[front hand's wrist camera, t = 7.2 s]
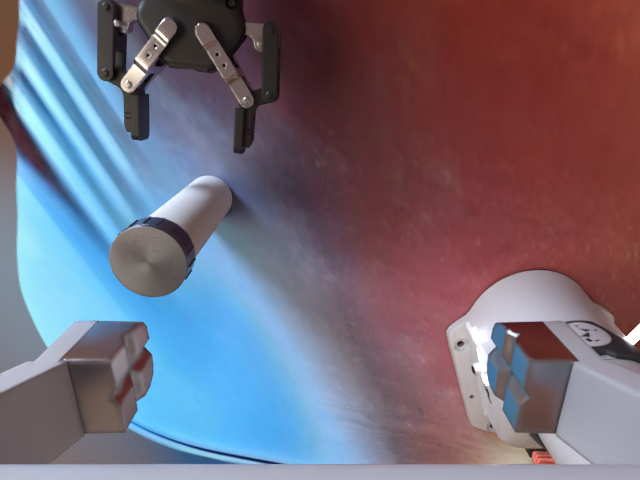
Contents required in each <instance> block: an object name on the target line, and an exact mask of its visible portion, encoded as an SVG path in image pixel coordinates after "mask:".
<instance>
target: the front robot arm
mask: <svg viewBox="0 0 640 480" xmlns="http://www.w3.org/2000/svg"><path fill="white" fill-rule="evenodd" d="M446 336H447V340H448V344H449V348H450V352H451V356H452V359H453V363H454V367H455V371H456V375H457V379H458V383H459V386H460V390H461V394H462V398H463V402H464V406H465V409H466V413H467V417H468V419H469V421H470V423H471V425H472V426H474V427H476V428H478V429H481V430H484V431H488V432H494V433H496V434H497V436H498V437H499V438H500V440H502V441H503V442H504V443H506V444H508V445H511V446H514V447H519V448H525V449H526V451H527V453H528V455H529V456H530V457H532V460H533V464H49V463H50V462H52V461H53V460H54V459H56V458H57V457H58V456H59V455H61V454H62V453H63V452H65V451H66V450H67V449H68V448H70V447H71V446H72V445H74V444H75V443H76V442H77V441H79V440H80V439H81V438H82V437H84V436H85V435H84V434H92V433H125V432H126V430H127V428H128V426H129V424H130V423H131V421H132V419H133V417H134V415H135V414H136V412H137V410H138V409H137V403H136V401H138V400H139V399H141V398H142V397H144V396H145V395H146V394H147V392H148V390H149V388H150V385H151V381H152V377H153V358H152V354H151V353H150V352H149V351H148V350H147V349H146V348H145V347H144V346H145V344H146V343H147V341H148V339H149V335H148V330H147V326H146V325H145V324H144V323H143V322H125V321H78V322H74V323H73V324H72V325H71V326H70V327H69V328H68V329H67V330H66V331H65V332H64V333H63V334H62V335H61V336H60V337H59V338H58V339H57V340H56V341H55V342H54V343H53V344H52V345H51V346H50V347H49V348H48V349H47V350H46V351H45V352H44V353H43V354H42V355H41V356H40V357H39V358H38V359H37V360H35V361H34V362H25V363H23V364H21V365H19V366H16V367H14V368H12V369H10V370H7V371H5V372H3V373H1V374H0V480H640V351H639V350H638V349H637V348H636V347H635V346H634V344H635V343H636V342H637V341H638V340H639V339H640V324H639V325H638V326H637V327H636V328H635V329H634V330H633V331H632V332H631V333H630V334H629V335H628V336H627V337H626V336H625V335H624V334H623V333H622V332H621V331H620V330H619V329H618V328H617V327H616V326H615V325H614V317H613V315H612V314H611V313H610V312H609V311H608V310H607V309H606V308H604V307H602V306H600V305H598V304H596V303H594V302H592V301H591V300H590V298H589V297H588V296H587V294H586V293H585V292H584V290H583V289H582V288H581V287H580V286H579V285H578V284H577V283H576V282H575V281H574V280H572V279H571V278H569V277H567V276H565V275H563V274H560V273H557V272H553V271H547V270H531V271H524V272H520V273H516V274H513V275H511V276H508V277H506V278H504V279H502V280H500V281H498V282H497V283H495V284H494V285H492V286H491V287H490V288H488V289H487V290H486V291H485V292H484V293H483V294H482V295H481V296H480V297H479V298H478V300H477V301H476V302H475V304H474V305H473V307H472V308H471V309H470V311H469V312H468V313H467V314H466V315H465V316H463V317H461V318H460V319H458V320H457V321H455V322H454V323H453V324H452V325H450V326H449V328H448V329H447V331H446ZM459 341H462V342H461V343H460V344H457V343H458V342H459Z"/></svg>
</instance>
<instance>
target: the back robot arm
mask: <svg viewBox="0 0 640 480" xmlns="http://www.w3.org/2000/svg"><path fill="white" fill-rule="evenodd" d="M136 22H138V24H139V26H140V27H141V29H142V30H143V32H144V34H145V35H146V37H147V38H148V40H149V41H148V42H147V43H146V44H145V46H144V47H143V48H142V50H141V51H140V52H139V54H138V55H137V56H136V58H135V59H134V64H133V65H132V67H131V68H130V69H129V70H128V71H126V48H127V34H130V33H131V32H132V30H133V26H134V24H135V23H136ZM247 36H249V37H251V38H252V40H253V43H254V47H255V49H256V50H257V51H259V52H262V89H258V90H253V88H252V86H251V85H250V83H249V81H248V80H247V78H246V75H245V73H244V71H243V70H242V68H241V66H240V65H239V63H238V61H237V60H236V58H235V56H234V55H233V54H234V53H235V52H236V51H237V49H238V48H239V47H240V46H241V44H242V43H243V42H244V41H245V39H246V37H247ZM149 54H150V56H149ZM280 56H281V30H280V28H279V26H278V25H277V24H276V23H274V22H273V21H268V22H266V23H265V24H264V23H250V22H246V20H245V18H244V14H243V0H141V1H140V3H139V5H138V7H134V6H129V5H124V4H121V3H119V2H116V1H113V0H99V2H98V57H97V73H98V76H99V77H100V79H102V80H103V81H108V82H110V83H112V84H114V85H116V86H118V87H119V88H120V89H121V90H122V92H123V95H124V118H125V119H124V124H125V128H126V130H127V132H131V137H132V139H133V140H140V141H142V140H145V139H148V137H149V94H145V90H146V89H147V88H148V86H149V85H150V84H151V82H152V81H153V80H154V79H155V77H156V76H157V75H158V74H160V73H161V72H162V71H163V70H164V69H165V67H166V66H167V65H168V66H169V68H177V69H194V70H196V71H199V72H207V73H214V72H217V71H219V73H220V74H221V76H222V78H223V79H224V81H225V82H226V83H227V84H228V85H229V87H230V89H231V90H232V92H233V93H234V95H235V97H236V98H237V100H238V102H239V107H238V108H236V113H235V131H234V153H240V154H243V153H244V152H245V149H246V147H247V148H249V147H250V146H251V144H252V142H253V140H254V128H255V114H256V109H257V107H258V106H260V105H263V104H267V103H272V102H274V101H276V100H277V99H278V98H279V90H280Z"/></svg>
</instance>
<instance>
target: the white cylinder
mask: <svg viewBox="0 0 640 480" xmlns="http://www.w3.org/2000/svg"><path fill="white" fill-rule="evenodd" d="M231 205H232V193H231V191H230V189H229V187H228V185H227V184H226V183H225V182H224V181H222V180H221V179H219V178H217V177H214V176H202V177H199V178H197V179H196V180H195V181H193V182H192V183H191V184H189V185H188V186H187V187H186V188H184V189H183V190H182V191H181V192H179V193H178V194H177V195H175V196H174V197H173V198H172V199H170V200H169V201H168V202H167V203H165V204H164V205H163V206H162V207H160V208H159V209H158V210H156V211H155V212H154V213H153V214H151V215H150V216H151V217H160V218H165V219H168V220H170V221H172V222H174V223H176V224H178V225H179V226H180V227H182V228H183V229H184V230H185V231H186V232H187V233H188V234H189V237H190V238H191V240H192V242H193V245H194V246H195V247H194V249H195V257H196V256H197V254H198V253H199V252H200V250H201V249H202V247H203V246H204V245H205V243H206V242H207V240H208V239H209V238H210V236H211V235H212V233H213V232H214V231H215V229H216V228H217V226H218V225H219V224H220V222H221V221H222V219H223V218H224V217H225V215H226V214H227V212H228V211H229V210H230V208H231Z"/></svg>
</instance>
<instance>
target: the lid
mask: <svg viewBox="0 0 640 480" xmlns="http://www.w3.org/2000/svg"><path fill="white" fill-rule="evenodd" d="M194 247H195V246H194V245H193V242H192V240H191V238H190V237H189V234H188V233H187V232H186V231H185V230H184V229H183V228H182V227H180V226H179V225H178V224H176V223H174V222H172V221H170V220H168V219H165V218H160V217H151V216H149V217H148V218H143V219H141V220H136V221H135V222H133V223H132V224H131V225H129V226H128V228H126V229H125V230H123V231H122V232H121V233H119V234H118V236H117V237H116V238H115V240H114V241H113V243H112V245H111V248H110V254H109V260H110V265H111V268H112V271H113V273H114V275H115V276H116V278H117V279H118V280H119V282H120V283H121V284H122V285H123V286H125V287H126V288H127V289H129V290H131V291H132V292H134V293H136V294H139V295H143V296H147V297H160V296H164V295H167V294H170V293H172V292H173V291H175V290H176V289H178V288H179V286H180V285H181V284H182V283H183V281H184V280H185V279H187V277H188V276H189V274H190V273H191V271H192V270H191V269H192V267H193V265H194V261H195V260H196V258H195V249H194Z"/></svg>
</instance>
